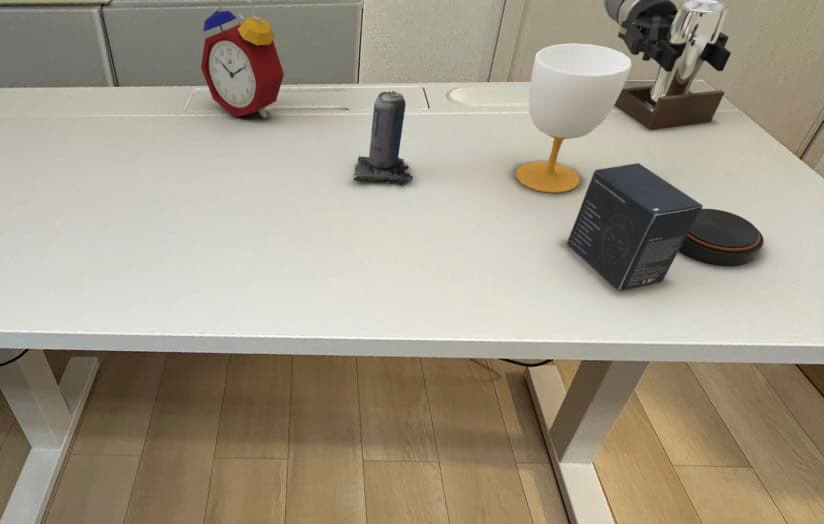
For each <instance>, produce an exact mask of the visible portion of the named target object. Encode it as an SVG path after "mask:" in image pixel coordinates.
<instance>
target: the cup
mask: <svg viewBox="0 0 824 524" xmlns="http://www.w3.org/2000/svg"><path fill="white" fill-rule="evenodd" d="M632 66H633V65H632V61H631V58H630V57H629V56H627V55H625V53H623V52H621V51H619V50H616V49H614V48H613V49H612V48H611V47H607V46H601V45H596V44H590V43H574V42H573V43H561V44H553V45H549V46H546V47H543V48H542V49H540V50H539V51H538V52H536V53H535V56H534V61H533V67H532V71H531V77H530V86H529V96H528V114H529V116H530V119H531V121H532V124H533V125H534V126H535V128H537V129H538V130H539V132H541V133H543V134H545V135H546V136H549V137H551V138H553V143H552V147H551V151H550V154H549V157H548V159H547V161H533V162H529V163H526V164H522V165H521V166H519V167H518V168H517V169H516V172H515V178H516V179H517V180H518V181H519V183H520V184H522V185H523V186H525V187H526V188H528V189H531V190H534V191H537V192H541V193H549V194H561V193H567V192H570V191H572V190H575V189H576V188H577V187H578V186H579V185H580V176H579V174H578V173H576V172H575V170H573V169H571V168H569V167H568V166H565V165H563V164H559V163H556V162H557V158H558V155H559V152H560V149H561V147H562V144H563V142H564V141H565V140H572V139H578V138H581V137H584V136H586V135H589V134H591V133H592V132H593V131H594V130H595V129H597V128H598V127H600V125H601V124H602V123H603V122H604V121H605V120H606V119H607V117H608V116H609V114H610V113H611V111H612V110H613V108H614V107H615V106H616V105H615V103H616V101H617V99H618V97H619V95H620V92H621V90H622V89H624V87H625V84H626V81H627V79H628V76H629V74H630V72H631V69H632Z"/></svg>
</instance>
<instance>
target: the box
mask: <svg viewBox="0 0 824 524" xmlns="http://www.w3.org/2000/svg"><path fill="white" fill-rule="evenodd" d="M586 189H587V190H586V192H585V195H584V197H583V200H582V203H581V206H580V208H579V210H578V214H577V216H576V219H575V221H574V224H573V227H572V229H571V232H570V234H569V237H568V241H567V242H566V244H567V246H569V247H570V248H571V249H573V251H575V252H576V253H577V254H578V255H579V256H580V257H581V258H583V259H584V260H585V261H586V262H587V263H588V264H589V265H590V266H591V267H592V268H593V270H595V271H596V272H597V273H598V274H600V275H601V277H603V278H604V279H605V280H606V281H607V282H609V283H610V284H611V285H612V286H613V287H614V288H615V289H616V290H618V291H623V290H627V289H635V288H637V287H643V286H647V285H653V284H656V283H661V282H663V281H664V279H665V278H666V275H667V274H668V273H669V272H668V271H669V270H670V268H671V266H672V265H673V262H674V260H675V259H676V257H677V255H678V253H679V252H680V251H679V249H680V247H681V246H682V244H683V242H684V240H685V238H686V236H687V234H688V233H689V231H690V229H691V227H692V225H693V223H694V222H695V220H696V218H697V216H698V214H699V212H700V210H701V209H703V207H704V205H703V204H702V203H700V202H698V201H697V200H696V199H694V198H692V197H691V196H689V195H688V194H686V193H685V192H683V191H681V190H680V189H679V188H678V187H676V186H674V185H673V184H671V183H670V182H668V181H667V180H665V179H663V178H662V177H661V176H659V175H657V174H656V173H654V172H653V171H651V170H650V169H648V168H647V167H645V166H644V165H642V164H641V163H639V162H637V163H629V164H624V165H618V166H612V167H611V166H610V167H606V168H598V169H595V170H594V172H593V174H592V177H591V178H590V182H589V185H588V187H587V188H586Z"/></svg>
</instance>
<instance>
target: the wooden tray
mask: <svg viewBox="0 0 824 524" xmlns="http://www.w3.org/2000/svg"><path fill="white" fill-rule="evenodd" d="M653 85H654V84H652V85H645V86H636V87H628V88H622V90H621V92H620V95H619V97H618V99H617V101H616V103H615V105H614V106H616V107H618V108H619V109H620V110H622V111H623V112H624V113H626V114H627V115H629V116H630V117H631V118H633V119H634V120H635V121H637V122H639V123H640V124H641V125H643V126H644V127H646V128H647V129H649V130H658V129H664V128H665V129H667V128H672V127H681V126H682V127H683V126H689V125H698V124H706V123H711V122H712V120H713V118H714V116H715V114H716V112H717V109H718V108H719V105H720V103H721V101H722V99H723V97H724V95H725V91H724V90H721V89H717V90H709V91H701V92H693V91H690V90H689V92H688V94H683V95H675V96H666V97H659V98H658V100H657V103H656V105H655V107H654V108H653V107H652V106H651V105H649V104H648V103H647V102H646V97H647V95H648V93H649V92H650V90H651V88H652V87H653Z"/></svg>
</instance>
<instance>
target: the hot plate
mask: <svg viewBox="0 0 824 524" xmlns="http://www.w3.org/2000/svg"><path fill="white" fill-rule="evenodd" d="M764 241H765V239H764V237H763V234H762V233H761V231H760V230H759V229H758V228H757V227H756V226H755V225H754V224H753V223H752V222H750V221H749V220H748V219H746V218H744V217H742V216H739V215H738V214H735V213H732V212H730V211H726V210H721V209H715V208H702V209H701V210H700V212H699V214H698V216H697V218H696V220H695V222H694V223H693V225H692V227H691V229H690V231H689V233H688V234H687V236H686V238H685V240H684V242H683V244H682V246H681V247H680V249H679V251H678V252H680V253H681V254H684V255H685V256H687V257H690V258H692V259H694V260H696V261H699V262H702V263H706V264H710V265H715V266H725V267H733V266H735V267H736V266H742V265H745V264H748V263H750V262H751V261H753V260H754V259H755V258H756V257H757V255H758V254H759V252H760V250H761V249H762V247H763V246H764Z"/></svg>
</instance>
